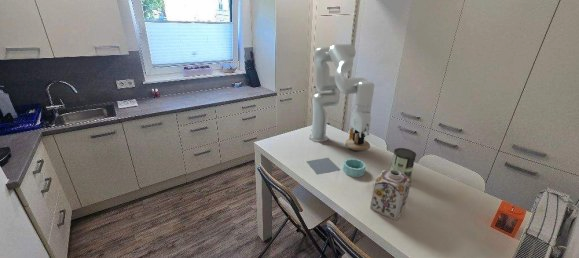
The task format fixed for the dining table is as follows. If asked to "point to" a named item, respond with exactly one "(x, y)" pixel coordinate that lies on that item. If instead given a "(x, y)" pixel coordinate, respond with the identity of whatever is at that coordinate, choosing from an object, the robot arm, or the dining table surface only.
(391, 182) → the decorative jar
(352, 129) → the canister
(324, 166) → the mat
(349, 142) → the lid
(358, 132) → the robot arm
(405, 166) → the coffee can
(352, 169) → the bowl
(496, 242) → the dining table surface
